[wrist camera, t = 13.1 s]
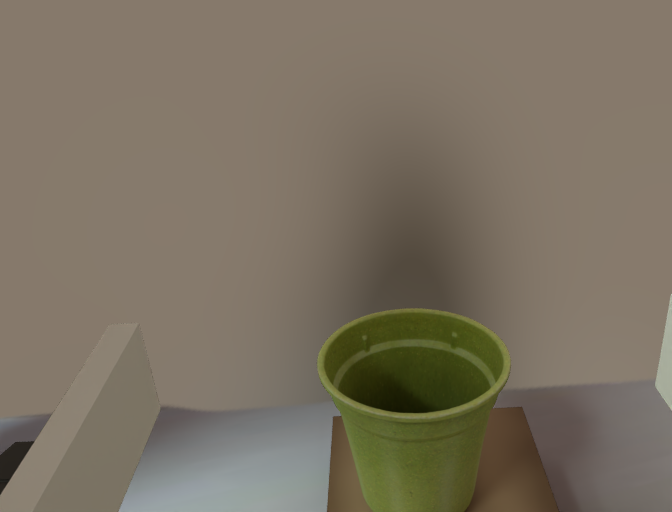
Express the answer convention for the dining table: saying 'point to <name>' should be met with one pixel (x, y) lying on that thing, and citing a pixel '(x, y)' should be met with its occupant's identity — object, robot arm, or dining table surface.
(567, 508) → the dining table surface
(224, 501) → the dining table surface
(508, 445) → the walnut plinth
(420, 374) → the plant pot
